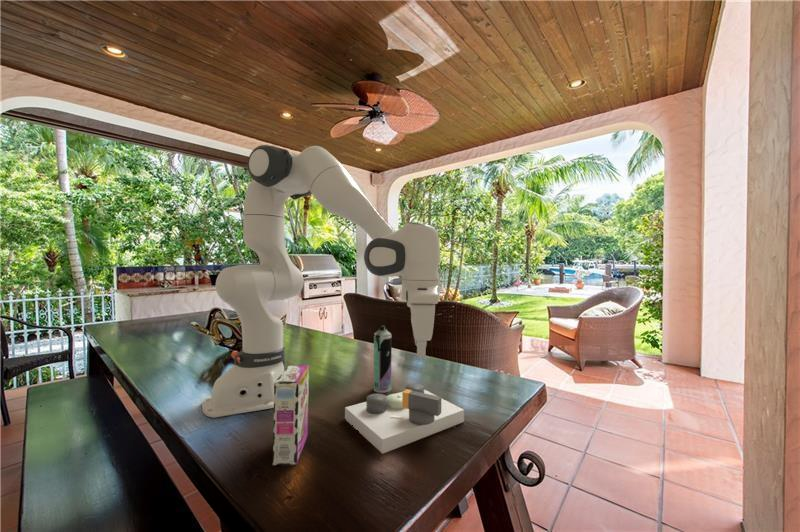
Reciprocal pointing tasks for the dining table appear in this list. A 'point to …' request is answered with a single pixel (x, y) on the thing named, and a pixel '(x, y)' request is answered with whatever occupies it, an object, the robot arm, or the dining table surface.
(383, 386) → the spray can
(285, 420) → the candy bar box
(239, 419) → the dining table surface
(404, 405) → the wing knob
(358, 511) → the dining table surface
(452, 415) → the base
